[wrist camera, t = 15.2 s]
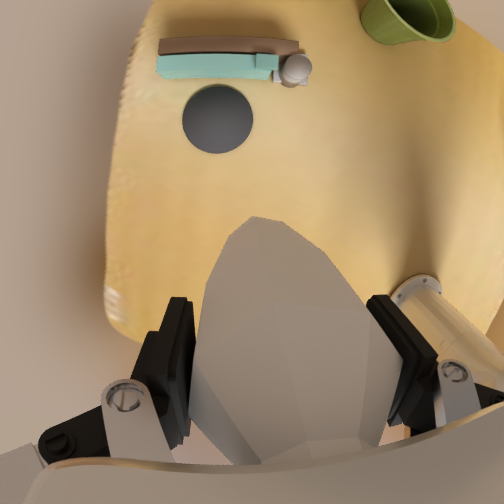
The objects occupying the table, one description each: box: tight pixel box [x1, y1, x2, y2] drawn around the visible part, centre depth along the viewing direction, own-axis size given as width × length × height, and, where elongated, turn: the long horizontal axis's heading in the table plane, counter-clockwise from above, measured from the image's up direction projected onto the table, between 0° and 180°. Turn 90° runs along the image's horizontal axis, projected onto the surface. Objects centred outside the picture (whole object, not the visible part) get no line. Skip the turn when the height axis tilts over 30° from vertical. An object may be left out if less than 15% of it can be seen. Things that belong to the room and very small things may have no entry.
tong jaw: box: [156, 54, 279, 80], centre depth 28 cm, size 2×14×6 cm, turn 86°
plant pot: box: [361, 0, 456, 45], centre depth 24 cm, size 12×12×11 cm
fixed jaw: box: [158, 36, 312, 88], centre depth 29 cm, size 5×18×6 cm, turn 87°
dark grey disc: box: [183, 87, 253, 153], centre depth 34 cm, size 9×9×1 cm
